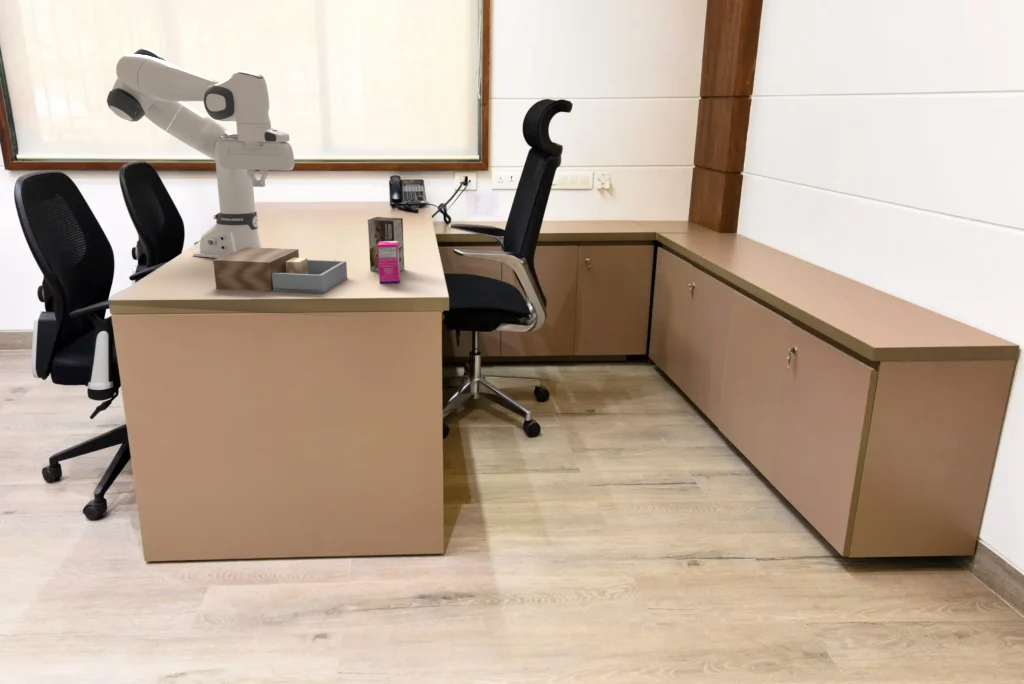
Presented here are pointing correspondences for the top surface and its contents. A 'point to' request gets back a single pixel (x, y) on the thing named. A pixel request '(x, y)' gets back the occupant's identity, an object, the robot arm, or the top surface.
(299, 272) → the birch block
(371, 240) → the coffee box
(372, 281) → the top surface
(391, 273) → the supplement box
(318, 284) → the box
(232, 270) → the zigzag grain wood block
